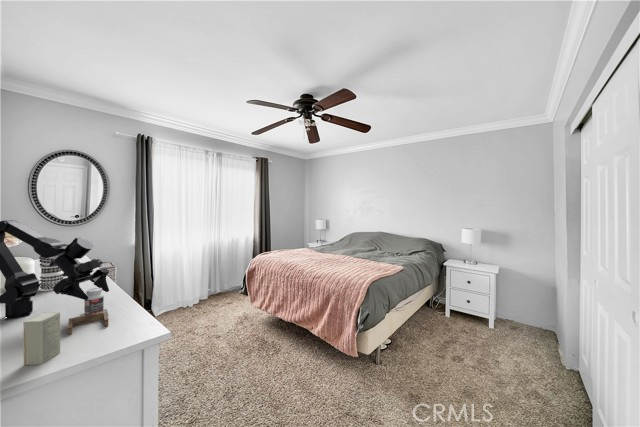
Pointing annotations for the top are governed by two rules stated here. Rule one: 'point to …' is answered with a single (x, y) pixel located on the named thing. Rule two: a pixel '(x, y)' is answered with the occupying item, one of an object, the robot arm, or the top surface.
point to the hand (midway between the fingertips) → (98, 295)
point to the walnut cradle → (87, 320)
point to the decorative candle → (49, 274)
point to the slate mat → (103, 311)
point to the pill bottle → (94, 301)
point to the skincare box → (41, 338)
